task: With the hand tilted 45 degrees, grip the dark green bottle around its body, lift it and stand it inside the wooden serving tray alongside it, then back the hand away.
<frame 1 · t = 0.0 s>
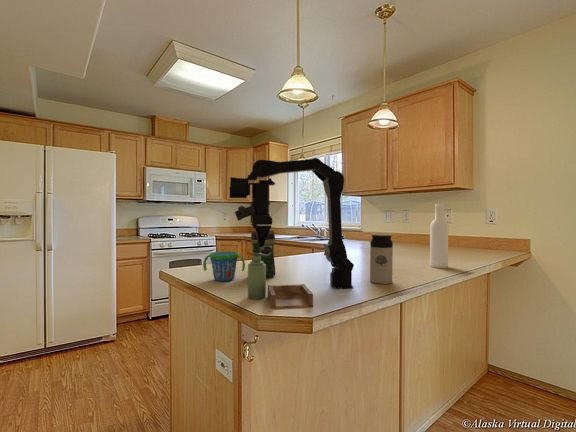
hand: (260, 245, 105), 15 cm above the countertop, tool pointing down, fingers open, 9 cm apart
snack cup: (224, 280, 119), on the countertop
wooden serving tray: (289, 301, 90), on the countertop
travel mug: (381, 282, 117), on the countertop
bottle: (256, 297, 95), on the countertop
coffee jar: (262, 277, 125), on the countertop
bottle 2: (438, 267, 150), on the countertop
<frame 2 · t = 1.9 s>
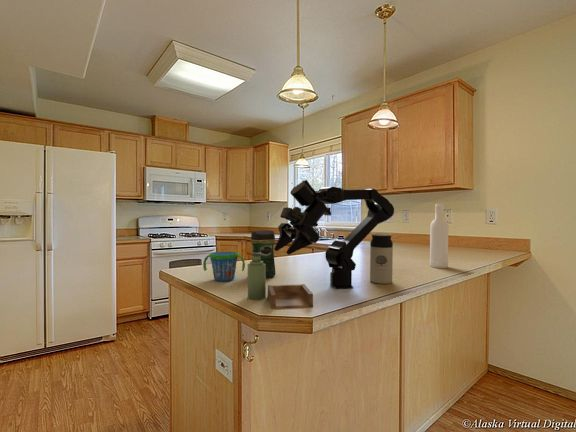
hand: (280, 251, 98), 13 cm above the countertop, tool tilted 45°, fingers open, 9 cm apart
nothing on the countertop moved.
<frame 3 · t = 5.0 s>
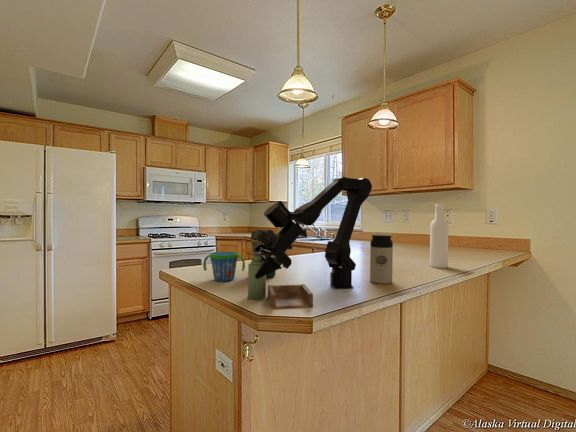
hand: (252, 275, 94), 7 cm above the countertop, tool tilted 45°, fingers closed on bottle, 5 cm apart
bottle: (256, 297, 95), on the countertop, touching gripper
everything else where it was.
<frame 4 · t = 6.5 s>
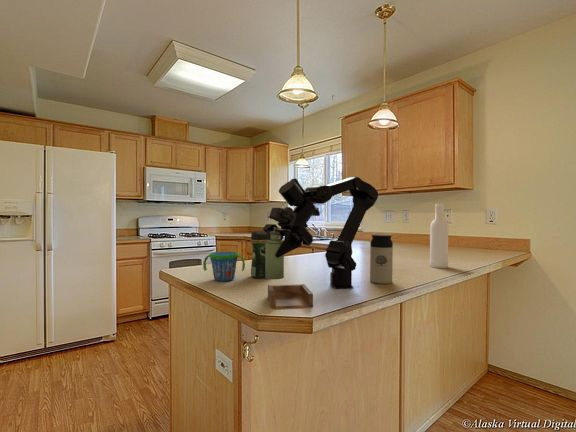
hand: (270, 255, 91), 13 cm above the countertop, tool tilted 45°, fingers closed on bottle, 5 cm apart
bottle: (274, 277, 92), point 7 cm above the countertop, touching gripper
everything else where it was.
when the fingers open (8 cm above the countertop, at t = 8.2 s): bottle drops 1 cm, resting on wooden serving tray.
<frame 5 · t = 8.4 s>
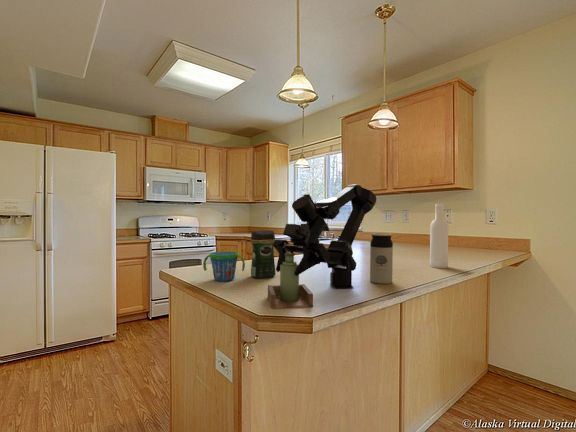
hand: (285, 272, 89), 9 cm above the countertop, tool tilted 45°, fingers open, 7 cm apart
bottle: (289, 299, 90), point 1 cm above the countertop, touching wooden serving tray
everything else where it was.
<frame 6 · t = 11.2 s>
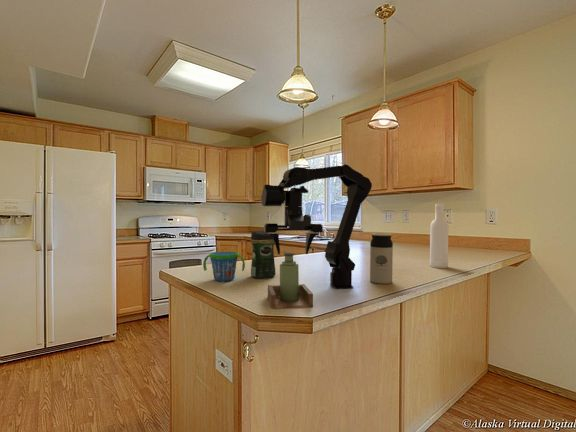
hand: (292, 254, 103), 12 cm above the countertop, tool pointing down, fingers open, 9 cm apart
nothing on the countertop moved.
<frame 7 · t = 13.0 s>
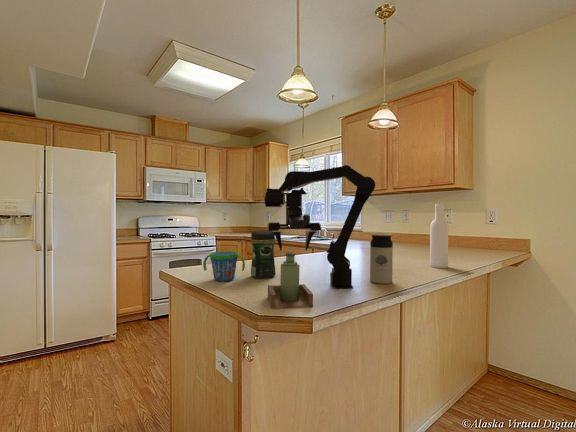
hand: (293, 250, 113), 12 cm above the countertop, tool pointing down, fingers open, 9 cm apart
nothing on the countertop moved.
at the end: bottle inside the target area on the wooden serving tray (0.4 cm from its centre), point 0.7 cm above the wooden serving tray's base; bottle tilted 2°; the gripper is holding nothing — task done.
